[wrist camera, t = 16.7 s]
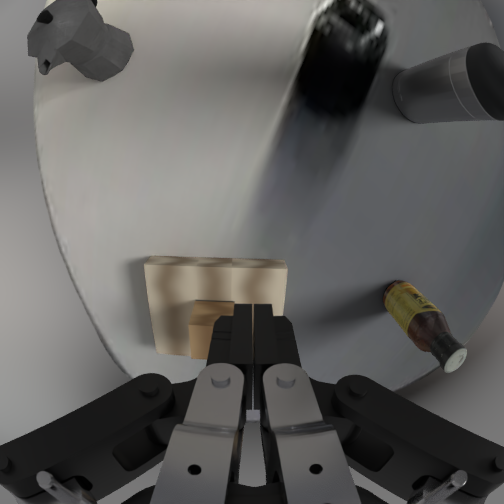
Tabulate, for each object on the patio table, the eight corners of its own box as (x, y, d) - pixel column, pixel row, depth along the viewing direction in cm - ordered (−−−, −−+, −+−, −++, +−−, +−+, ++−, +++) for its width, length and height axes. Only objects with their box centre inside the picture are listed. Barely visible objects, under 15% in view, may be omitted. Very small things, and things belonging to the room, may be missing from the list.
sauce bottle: (415, 288, 44) (479, 351, 25) (393, 314, 46) (449, 384, 27) (396, 270, 43) (466, 335, 24) (373, 298, 44) (432, 373, 26)
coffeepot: (129, 89, 32) (60, 55, 15) (77, 98, 31) (-1, 81, 14) (144, 6, 27) (100, -53, 10) (93, 18, 26) (36, -25, 9)
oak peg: (234, 291, 42) (233, 327, 33) (234, 322, 44) (233, 360, 35) (198, 290, 42) (188, 324, 33) (199, 320, 44) (191, 358, 35)
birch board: (284, 259, 41) (287, 268, 38) (275, 345, 46) (277, 358, 43) (151, 255, 40) (143, 264, 37) (161, 340, 45) (156, 353, 42)
